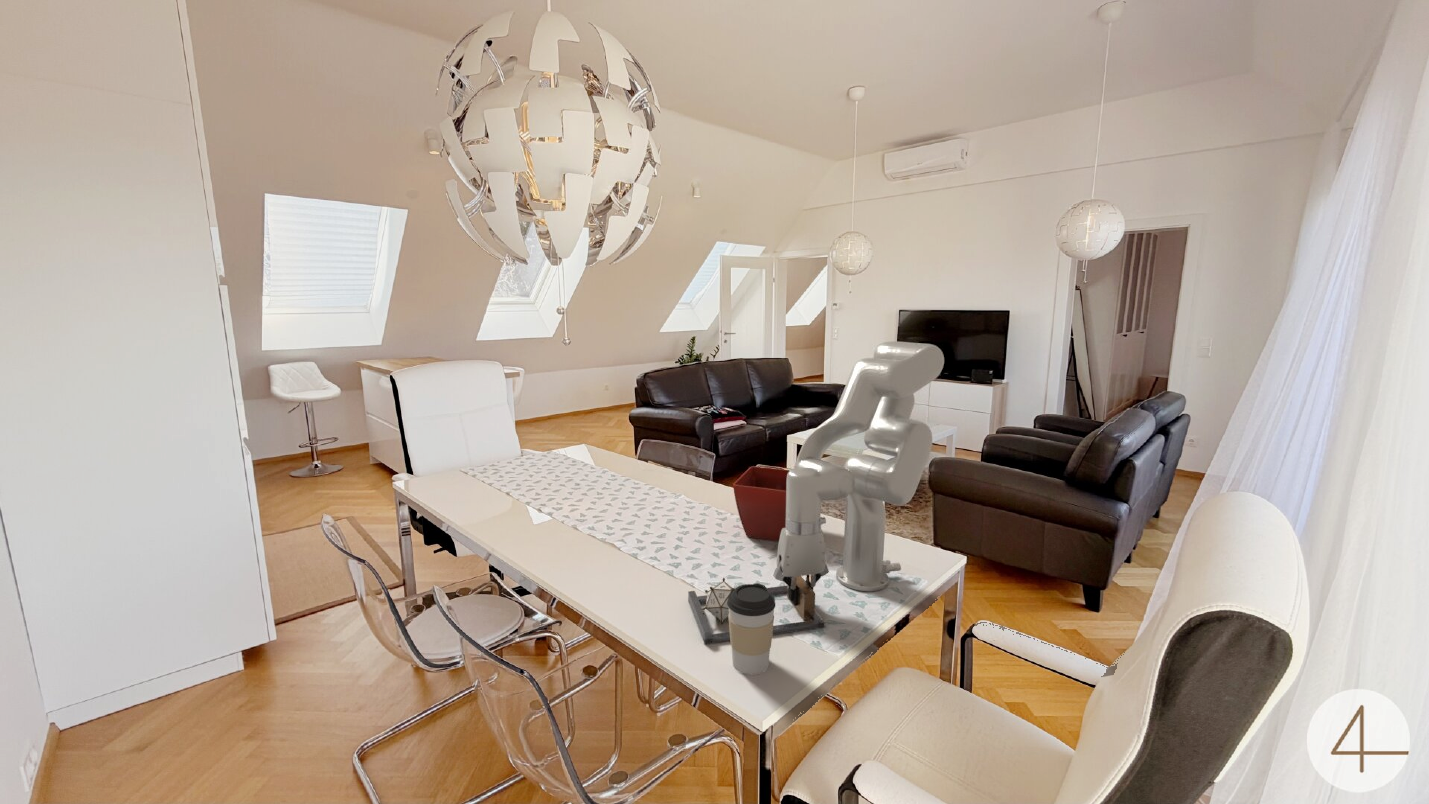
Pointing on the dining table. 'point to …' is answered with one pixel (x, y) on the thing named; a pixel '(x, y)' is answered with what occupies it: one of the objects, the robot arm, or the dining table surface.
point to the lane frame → (803, 608)
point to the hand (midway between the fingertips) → (800, 601)
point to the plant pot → (762, 502)
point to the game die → (718, 600)
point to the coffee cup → (751, 627)
